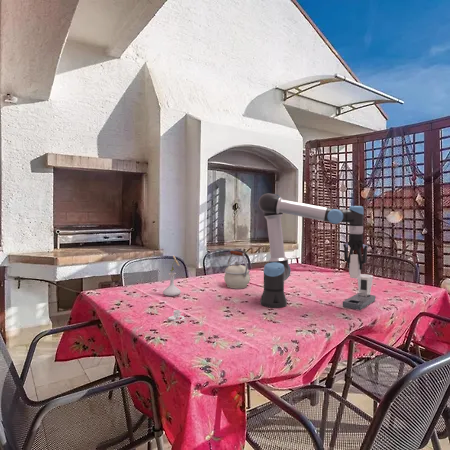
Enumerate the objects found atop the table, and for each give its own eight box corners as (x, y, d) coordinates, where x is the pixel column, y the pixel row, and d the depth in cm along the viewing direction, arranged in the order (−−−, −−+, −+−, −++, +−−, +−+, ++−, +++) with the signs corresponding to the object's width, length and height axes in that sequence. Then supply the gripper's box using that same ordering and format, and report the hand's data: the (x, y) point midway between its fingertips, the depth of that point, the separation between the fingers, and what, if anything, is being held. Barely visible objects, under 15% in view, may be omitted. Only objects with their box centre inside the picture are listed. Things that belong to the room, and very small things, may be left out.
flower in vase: (177, 297, 207) (177, 257, 206) (160, 296, 209) (159, 256, 208) (184, 292, 220) (184, 254, 219) (167, 291, 222) (167, 254, 221)
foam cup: (360, 292, 222) (360, 273, 222) (374, 295, 216) (375, 275, 215) (354, 295, 215) (354, 275, 215) (368, 298, 209) (369, 277, 208)
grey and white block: (342, 306, 190) (343, 282, 190) (358, 297, 210) (359, 275, 209) (360, 310, 184) (361, 285, 183) (375, 300, 204) (375, 277, 203)
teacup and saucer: (169, 322, 163) (169, 314, 163) (165, 317, 170) (165, 309, 170) (186, 320, 167) (186, 312, 166) (182, 315, 174) (182, 307, 174)
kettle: (256, 287, 235) (257, 252, 233) (235, 291, 224) (235, 254, 223) (235, 281, 255) (236, 248, 254) (215, 284, 245) (215, 250, 244)
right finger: (357, 278, 186) (357, 255, 186) (349, 277, 189) (350, 254, 188) (360, 277, 190) (360, 254, 189) (352, 276, 193) (353, 253, 192)
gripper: (338, 232, 191) (337, 273, 192) (369, 234, 180) (368, 277, 181) (343, 232, 196) (342, 271, 198) (373, 233, 185) (372, 275, 187)
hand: (354, 274), depth 189 cm, fingers closed on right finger, 4 cm apart
